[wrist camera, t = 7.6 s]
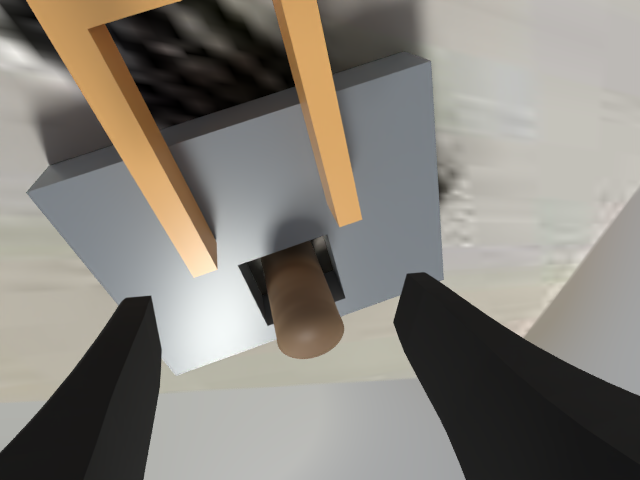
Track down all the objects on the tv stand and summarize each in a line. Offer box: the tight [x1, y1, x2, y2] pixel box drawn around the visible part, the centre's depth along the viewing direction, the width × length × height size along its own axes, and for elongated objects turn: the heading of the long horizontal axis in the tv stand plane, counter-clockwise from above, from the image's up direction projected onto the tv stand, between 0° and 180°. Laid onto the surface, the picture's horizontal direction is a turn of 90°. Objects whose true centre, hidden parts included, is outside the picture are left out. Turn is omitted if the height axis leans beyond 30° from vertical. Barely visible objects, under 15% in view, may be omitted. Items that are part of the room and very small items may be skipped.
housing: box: [26, 51, 444, 376], centre depth 19 cm, size 12×16×2 cm
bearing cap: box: [26, 0, 362, 278], centre depth 13 cm, size 11×7×2 cm, turn 14°
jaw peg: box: [261, 241, 344, 359], centre depth 19 cm, size 3×3×6 cm
